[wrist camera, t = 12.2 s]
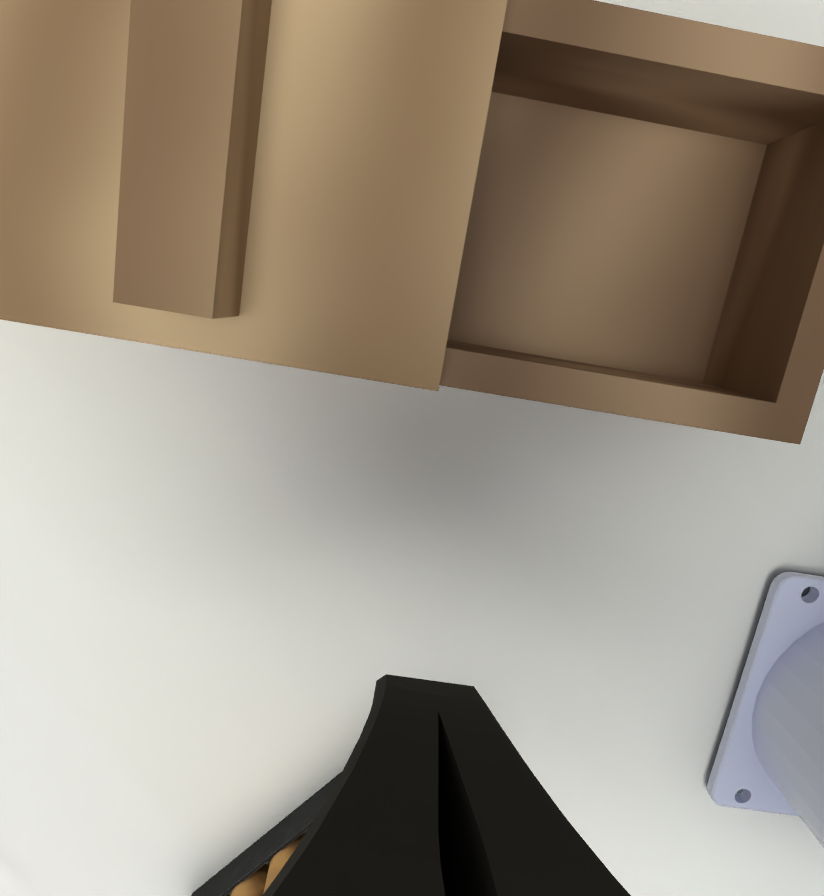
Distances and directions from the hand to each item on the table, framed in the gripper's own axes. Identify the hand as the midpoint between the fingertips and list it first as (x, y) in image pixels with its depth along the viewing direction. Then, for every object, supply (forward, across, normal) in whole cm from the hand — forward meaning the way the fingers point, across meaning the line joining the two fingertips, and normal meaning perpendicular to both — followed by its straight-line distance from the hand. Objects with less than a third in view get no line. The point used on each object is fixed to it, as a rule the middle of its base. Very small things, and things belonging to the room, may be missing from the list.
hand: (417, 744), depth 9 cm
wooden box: (+10, -1, -8) cm, 13 cm away
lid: (+6, +7, -8) cm, 12 cm away
